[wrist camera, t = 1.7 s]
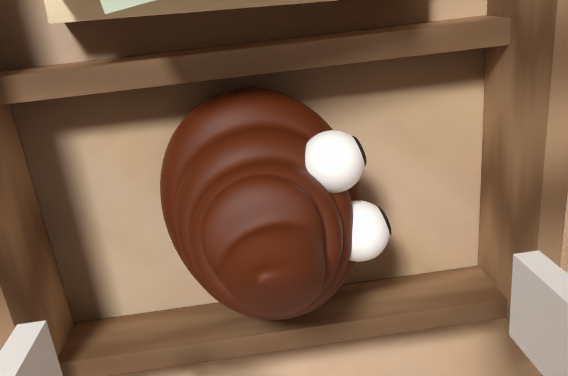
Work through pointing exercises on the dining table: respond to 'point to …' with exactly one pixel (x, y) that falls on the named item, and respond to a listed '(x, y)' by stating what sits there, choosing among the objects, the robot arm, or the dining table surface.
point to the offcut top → (121, 4)
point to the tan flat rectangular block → (148, 8)
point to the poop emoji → (267, 203)
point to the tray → (349, 298)
